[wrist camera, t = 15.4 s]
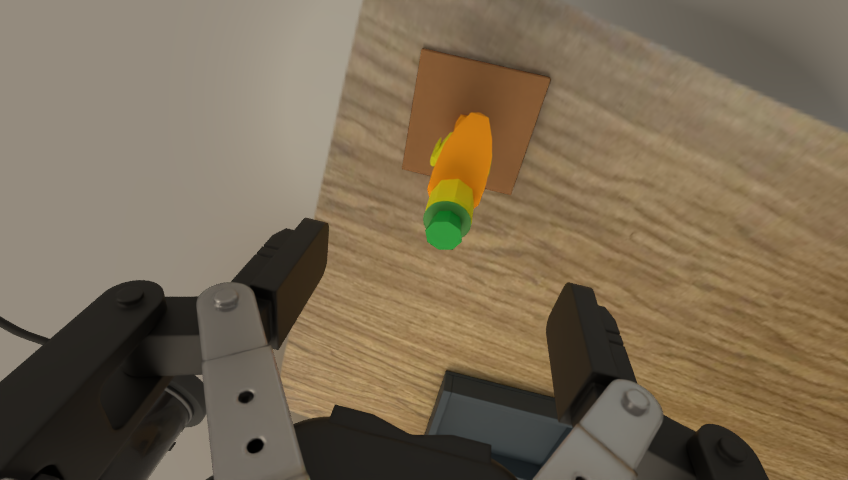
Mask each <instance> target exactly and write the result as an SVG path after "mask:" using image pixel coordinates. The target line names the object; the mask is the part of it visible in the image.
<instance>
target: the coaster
mask: <svg viewBox="0 0 848 480" xmlns="http://www.w3.org/2000/svg"><path fill="white" fill-rule="evenodd" d="M550 80H551V79H550V77H546V76H542V75H538V74H533V73H529V72H524V71H520V70H516V69H511V68H507V67H503V66H498V65H494V64H490V63H485V62H481V61H476V60H472V59H468V58H463V57H459V56H455V55H450V54H446V53H441V52H437V51H433V50H428V49H424V48H423V49H422V50H421V56H420V62H419V68H418V74H417V80H416V86H415V92H414V98H413V105H412V111H411V117H410V123H409V129H408V135H407V141H406V147H405V153H404V160H403V166H402V169H404V170H408V171H412V172H417V173H421V174H425V175H429V176H431V175H432V171H433V169H434V166H431V165H430V159H431V155H432V153H433V150H434V148H435V145H436V143H437V142H438V140H439V139H440V138H441V143H442V142H443V140H444V139H445V138H446V137H447V136H448V134H449V133H450V132H453V131H454V127H455V123H456V121H457V120H458V118H459V117H460V115H461V114H462V115H466V116H468V115H469V114H470V113H471V112H480V113H482V114H483V115H485V116H487V117H488V118H489V123H490V129H491V136H492V162H491V167H490V173H489V175H488V178H487V182H486V186H485V189H488V190H492V191H496V192H500V193H504V194H509V195H511V193H512V190H513V187H514V184H515V181H516V178H517V176H518V173H519V170H520V167H521V164H522V161H523V158H524V155H525V153H526V150H527V147H528V144H529V141H530V138H531V135H532V132H533V129H534V127H535V124H536V121H537V118H538V115H539V112H540V109H541V106H542V103H543V101H544V98H545V95H546V92H547V89H548V86H549V83H550Z"/></svg>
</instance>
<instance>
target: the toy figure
mask: <svg viewBox="0 0 848 480" xmlns="http://www.w3.org/2000/svg"><path fill="white" fill-rule="evenodd" d="M491 162H492V136H491V129H490V123H489V118H488V117H487V116H485V115H483V114H482V113H480V112H471V113H470V114H469V115H468V116H466V115H462V114H461V115H460V117H459V118H458V120H457V121H456V123H455V127H454V131H453V132H450V133H449V134H448V136H447V137H446V138H445V139H444V140H443V142H442V143H441V138H440V139H439V140H438V142H437V143H436V145H435V148H434V150H433V153H432V155H431V159H430V165H431V166H434V169H433V171H432V175H431V178H430V182H429V185H428V188H427V190H428V194H429V200H428V204H427V207H426V211H425V213H424V218H423V221H424V225H425V228H426V230H425V231H426V236H427V242H428V243H430V244H431V245H433V246H434V247H436V248H437V249H439V250H453V249H454V248H455V247H456V246H457V245H458V244H460V243H461V242H462V237H464V236H465V235H466V234H467V233H468V231H469V230H470V227H471V224H472V217H473V209H474V208H475V207H476V206H478V205H479V202H480V200H481V197H482V194H483V192H484V189H485V186H486V182H487V178H488V175H489V173H490V167H491Z"/></svg>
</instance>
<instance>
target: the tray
mask: <svg viewBox="0 0 848 480" xmlns="http://www.w3.org/2000/svg"><path fill="white" fill-rule="evenodd" d="M572 429H573V427H572V426H571V425H567V424H563V423H559V422H558V417H557V409H556V402H555V398H552V397H548V396H544V395H541V394H537V393H533V392H529V391H525V390H521V389H517V388H513V387H509V386H505V385H501V384H497V383H493V382H489V381H485V380H482V379H478V378H474V377H470V376H466V375H462V374H458V373H454V372H450V371H446V372H445V375H444V378H443V381H442V384H441V387H440V390H439V393H438V396H437V399H436V402H435V405H434V408H433V411H432V414H431V417H430V420H429V423H428V426H427V429H426V432H425V435H455V436H459V437H463V438H467V439H471V440H475V441H479V442H483V443H487V444H490V445H491V459H493V460H495V461H497V462H498V463H500V464H501V465H502V466H504V467H505V468H506V469H508V470H509V471H510V472H511V473H512V474H513V475H514V476H515V477H516V478H517V479H518V480H532V479H533V478H534V477H535V476H536V474H537V473H538V472H539V471H540V469H541V468H542V467H543V466H544V464H545V463H546V462H547V461H548V459H549V458H550V457H551V456H552V454H553V453H554V452H555V451H556V449H557V448H558V447H559V446H560V444H561V443H562V442H563V441H564V439H565V438H566V437H567V436H568V434H569V433H570V432H571V431H572Z"/></svg>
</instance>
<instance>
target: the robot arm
mask: <svg viewBox="0 0 848 480" xmlns="http://www.w3.org/2000/svg"><path fill="white" fill-rule="evenodd" d="M328 236H329V225H328V223H326V222H322V221H318V220H313V219H309V218H304V219H303V220H302V221H301V223H300V224H299V225H298V227H297V228H296V229H295V230H291V229H287V228H286V229H284V230H282V231H280V232H278V233H276V234H274V235H272V236H271V238H270V239H269V240H268V241H267V242H266V243H265V244H264V247H262V248H261V249H260V250H259V251H258V252H257V255H254V256H253V258H252V259H251V260H250V261H249V262H248V263H247V264H246V265H245V267H244V268H243V269H242V270H241V271H240V272H239V273H238V275H236V277H235V278H234V279H233V280H232V281H231V282H226V283H220V284H217V285H214V286H211V287H209V288H208V289H206V290H205V291H204V292H202V293H201V294H200V295H199V296H198V297H165V296H164V291H163V289H162V288H161V286H160V285H158V284H157V283H154V282H151V281H145V280H136V281H129V282H125V283H121V284H119V285H116V286H114V287H112V288H110V289H108V290H107V291H106V292H104V293H103V294H102V295H101V296H100V297H98V298H97V299H96V300H95V301H94V302H93V303H91V304H90V305H89V306H88V307H87V308H86V309H84V310H83V311H82V312H81V313H80V314H79V315H77V317H75V318H74V319H73V320H72V321H71V322H69V323H68V324H67V325H66V326H65V327H64V328H62V329H61V330H60V331H59V332H58V333H57V334H55V335H54V336H53V337H52V338H51V339H48V338H46V337H43V336H40V335H37V334H34V333H31V332H28V331H26V330H24V329H22V328H20V327H18V326H16V325H14V324H12V323H11V322H9V321H7V320H5V319H4V318H2V317H0V327H1V328H3V329H5V330H7V331H8V332H10V333H12V334H14V335H16V336H19V337H21V338H24V339H27V340H29V341H32V342H36V343H38V344H41V345H43V346H41V347H40V348H39V349H38V350H37V351H36V352H35V353H33V354H32V355H31V356H30V357H29V358H28V359H26V361H24V362H23V363H22V364H21V365H20V366H18V367H17V368H16V369H15V370H14V371H12V372H11V373H10V374H9V375H8V376H7V377H6V378H4V379H3V380H2V381H1V382H0V480H148V478H149V477H150V475H151V474H152V473H153V471H154V470H155V468H156V467H157V465H158V464H159V463H160V461H161V460H162V458H163V457H164V455H165V454H166V453H167V451H171V449H172V448H173V446H174V445H175V443H176V442H174V441H175V440H176V439H177V437H178V436H179V435H180V433H181V432H182V431H183V429H184V428H185V426H186V425H187V424H188V423H189V422H190V420H191V419H192V417H193V415H194V410H193V407H192V405H191V404H190V402H189V401H188V400H187V399H186V398H185V397H184V396H183V395H182V394H181V393H179V392H178V391H177V390H175V389H174V388H172V387H170V386H168V384H169V383H170V382H171V380H172V379H173V378H174V376H179V375H203V385H204V394H205V403H206V412H207V421H208V430H209V440H210V449H211V459H212V467H213V476H211V477H209V478H208V479H206V480H518V479H517V478H516V477H515V476H514V475H513V474H512V473H511V472H510V471H509V470H508V469H506V468H505V467H504V466H502V465H501V464H500V463H498V462H497V461H495V460H493V459H491V445H490V444H487V443H483V442H479V441H475V440H471V439H467V438H463V437H459V436H455V435H412V434H409V433H406V432H405V431H403V430H401V429H399V428H397V427H395V426H394V425H392V424H390V423H388V422H386V421H384V420H383V419H381V418H379V417H377V416H375V415H373V414H370V413H366V412H362V411H358V410H354V409H350V408H347V407H343V406H339V405H335V406H334V408H333V411H332V414H331V416H330V417H317V418H312V419H308V420H303V421H301V422H298V423H295V424H293V422H292V419H291V415H290V411H289V407H288V404H287V400H286V396H285V393H284V389H283V385H282V382H281V378H280V374H279V371H278V367H277V363H276V360H275V357H274V352H273V349H276V350H279V348H280V346H281V345H282V343H283V341H284V340H285V338H286V336H287V335H288V333H289V331H290V330H291V328H292V326H293V325H294V323H295V321H296V320H297V318H298V316H299V315H300V313H301V311H302V310H303V308H304V306H305V305H306V303H307V301H308V300H309V298H310V296H311V295H312V293H313V291H314V290H315V288H316V286H317V285H318V283H319V281H320V280H321V278H322V276H323V274H324V271H325V268H326V264H327V253H328ZM619 334H620V332H619V329H618V327H617V324H616V321H615V319H614V318H613V317H612V315H611V314H610V313H609V312H608V310H607V309H606V308H605V307H603V306H599V305H598V304H597V301H596V297H595V294H594V291H593V289H592V288H590V287H586V286H582V285H577V284H573V283H569V282H568V283H566V284H565V286H564V288H563V289H562V291H561V293H560V295H559V297H558V299H557V301H556V303H555V305H554V307H553V309H552V311H551V313H550V315H549V318H548V321H547V326H546V336H547V344H548V351H549V358H550V366H551V373H552V380H553V387H554V395H555V402H556V409H557V417H558V422H559V423H563V424H567V425H571V426H572V427H573V429H572V431H571V432H570V433H569V434H568V436H567V437H566V438H565V439H564V441H563V442H562V443H561V444H560V446H559V447H558V448H557V449H556V451H555V452H554V453H553V454H552V456H551V457H550V458H549V459H548V461H547V462H546V463H545V464H544V466H543V467H542V468H541V469H540V471H539V472H538V473H537V474H536V476H535V477H534V478H533V479H532V480H769V479H768V477H767V475H766V473H765V471H764V469H763V467H762V465H761V463H760V461H759V459H758V457H757V455H756V454H755V453H754V451H753V450H752V449H751V448H750V446H749V445H748V444H747V443H746V442H745V441H744V440H742V439H741V438H740V437H739V436H737V435H736V434H735V433H733V432H732V431H730V430H728V429H726V428H724V427H722V426H719V425H715V424H705V425H703V426H702V427H701V428H700V429H699V430H698V431H696V432H695V431H693V430H691V429H689V428H687V427H686V426H684V425H682V424H680V423H678V422H676V421H674V420H672V419H670V418H668V417H667V416H665V415H663V411H662V408H661V406H660V404H659V403H658V401H657V400H656V399H655V397H654V396H653V395H652V394H651V393H650V392H649V391H648V390H646V389H645V388H644V387H642V386H641V385H639V384H637V381H636V378H635V375H634V372H633V370H632V367H631V364H630V361H629V358H628V355H627V352H626V350H625V347H624V346H623V341H622V338H621V336H620V335H619Z"/></svg>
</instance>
